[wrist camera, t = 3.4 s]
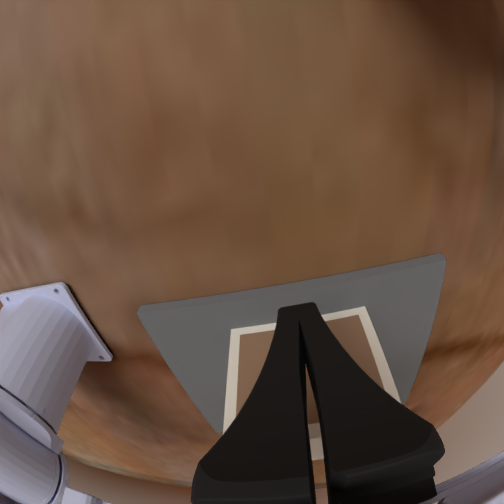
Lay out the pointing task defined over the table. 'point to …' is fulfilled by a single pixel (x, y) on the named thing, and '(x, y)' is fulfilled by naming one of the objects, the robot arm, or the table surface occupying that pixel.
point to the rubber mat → (315, 290)
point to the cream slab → (256, 350)
